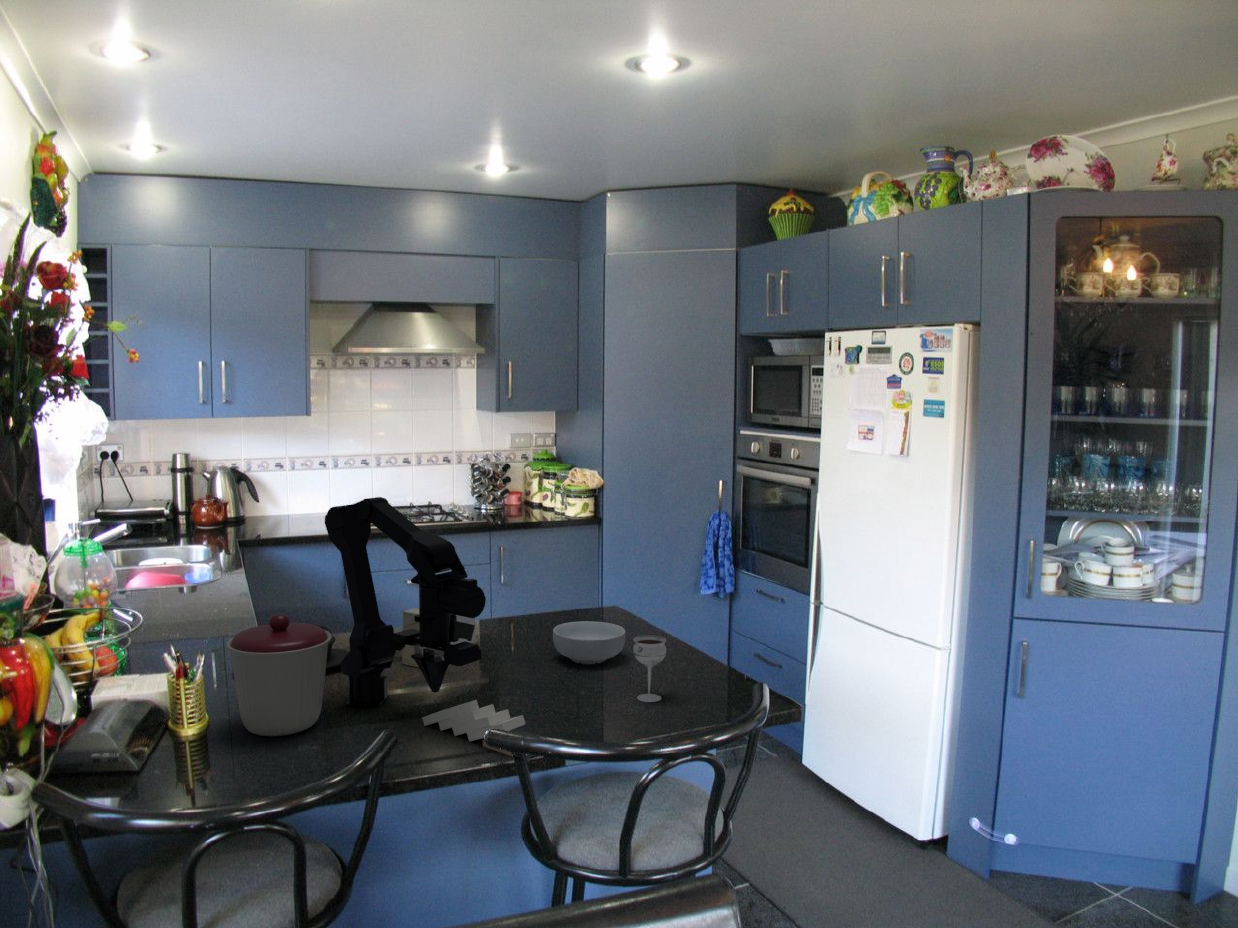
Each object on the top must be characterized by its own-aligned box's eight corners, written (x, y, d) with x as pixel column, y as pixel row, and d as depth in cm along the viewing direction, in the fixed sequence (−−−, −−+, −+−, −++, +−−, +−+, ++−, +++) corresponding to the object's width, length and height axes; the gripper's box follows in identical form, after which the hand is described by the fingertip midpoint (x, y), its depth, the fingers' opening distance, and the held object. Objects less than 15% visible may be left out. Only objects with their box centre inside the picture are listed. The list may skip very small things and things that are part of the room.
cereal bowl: (624, 671, 210) (625, 640, 210) (549, 670, 211) (549, 638, 210) (625, 649, 227) (626, 620, 227) (556, 648, 228) (556, 619, 227)
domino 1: (422, 717, 177) (456, 706, 171) (442, 709, 181) (476, 699, 175) (424, 725, 176) (458, 715, 170) (444, 718, 180) (479, 708, 174)
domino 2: (438, 722, 174) (472, 711, 168) (458, 714, 178) (492, 703, 172) (440, 730, 174) (475, 720, 168) (461, 723, 178) (495, 712, 172)
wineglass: (637, 704, 189) (638, 645, 188) (628, 693, 195) (629, 636, 194) (670, 701, 191) (671, 643, 190) (659, 691, 197) (660, 634, 196)
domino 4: (466, 732, 169) (501, 723, 163) (487, 724, 173) (522, 714, 167) (469, 741, 169) (504, 732, 163) (490, 733, 173) (525, 724, 167)
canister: (212, 725, 175) (209, 613, 173) (305, 702, 188) (303, 597, 186) (254, 753, 162) (251, 632, 161) (351, 727, 175) (349, 614, 173)
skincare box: (401, 664, 214) (400, 611, 212) (414, 659, 217) (414, 606, 216) (423, 668, 211) (423, 614, 210) (436, 663, 215) (436, 610, 213)
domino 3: (452, 727, 172) (487, 716, 166) (472, 719, 176) (507, 708, 170) (454, 735, 172) (490, 725, 166) (475, 728, 175) (510, 717, 169)
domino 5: (482, 737, 167) (524, 751, 161) (502, 729, 171) (544, 742, 165) (482, 746, 167) (524, 760, 161) (502, 738, 171) (544, 751, 165)
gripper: (502, 608, 177) (502, 690, 178) (432, 594, 188) (433, 671, 189) (458, 620, 168) (459, 707, 169) (388, 604, 179) (389, 686, 180)
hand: (435, 691), depth 177 cm, fingers closed
